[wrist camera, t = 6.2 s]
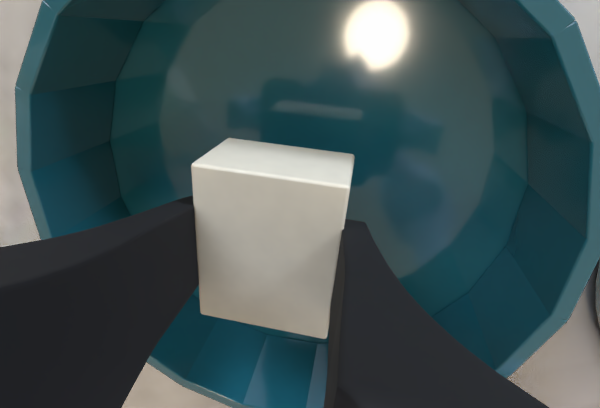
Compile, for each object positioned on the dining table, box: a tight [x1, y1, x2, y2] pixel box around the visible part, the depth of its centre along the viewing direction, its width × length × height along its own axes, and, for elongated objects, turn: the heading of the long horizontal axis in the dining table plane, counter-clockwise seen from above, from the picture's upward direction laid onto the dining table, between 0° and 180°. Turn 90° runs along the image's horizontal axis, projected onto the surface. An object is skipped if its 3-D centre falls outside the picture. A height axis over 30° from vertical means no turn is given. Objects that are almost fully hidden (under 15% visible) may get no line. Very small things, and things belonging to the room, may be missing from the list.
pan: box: [15, 0, 600, 408], centre depth 12 cm, size 17×17×4 cm
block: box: [191, 138, 355, 339], centre depth 11 cm, size 4×5×3 cm
